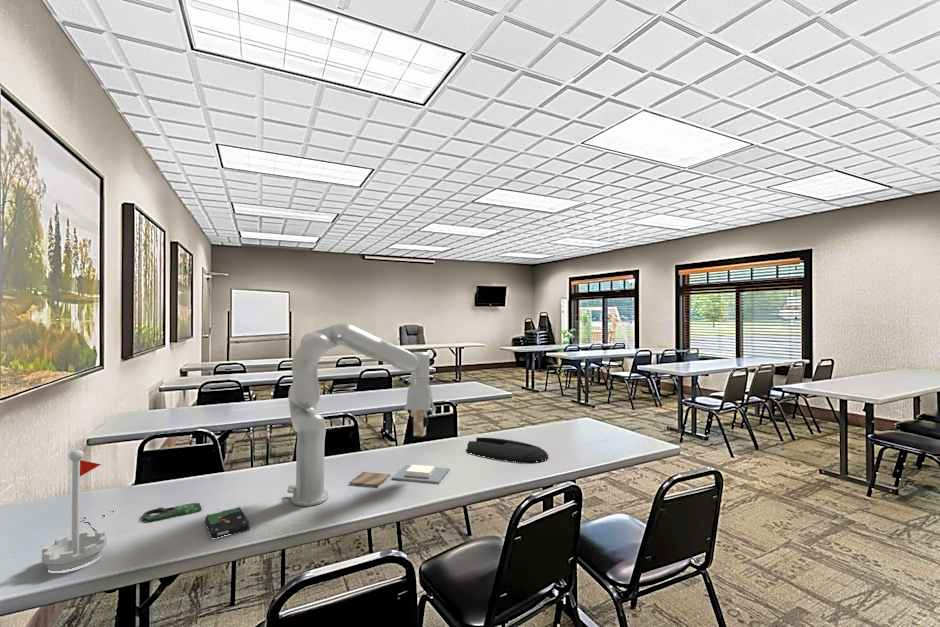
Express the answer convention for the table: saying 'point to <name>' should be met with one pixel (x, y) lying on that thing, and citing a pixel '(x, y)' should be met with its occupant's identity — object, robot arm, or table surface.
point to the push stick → (419, 423)
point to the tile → (420, 471)
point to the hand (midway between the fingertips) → (419, 425)
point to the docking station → (506, 450)
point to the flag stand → (75, 529)
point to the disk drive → (226, 522)
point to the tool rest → (369, 479)
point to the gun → (171, 512)
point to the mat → (434, 478)
